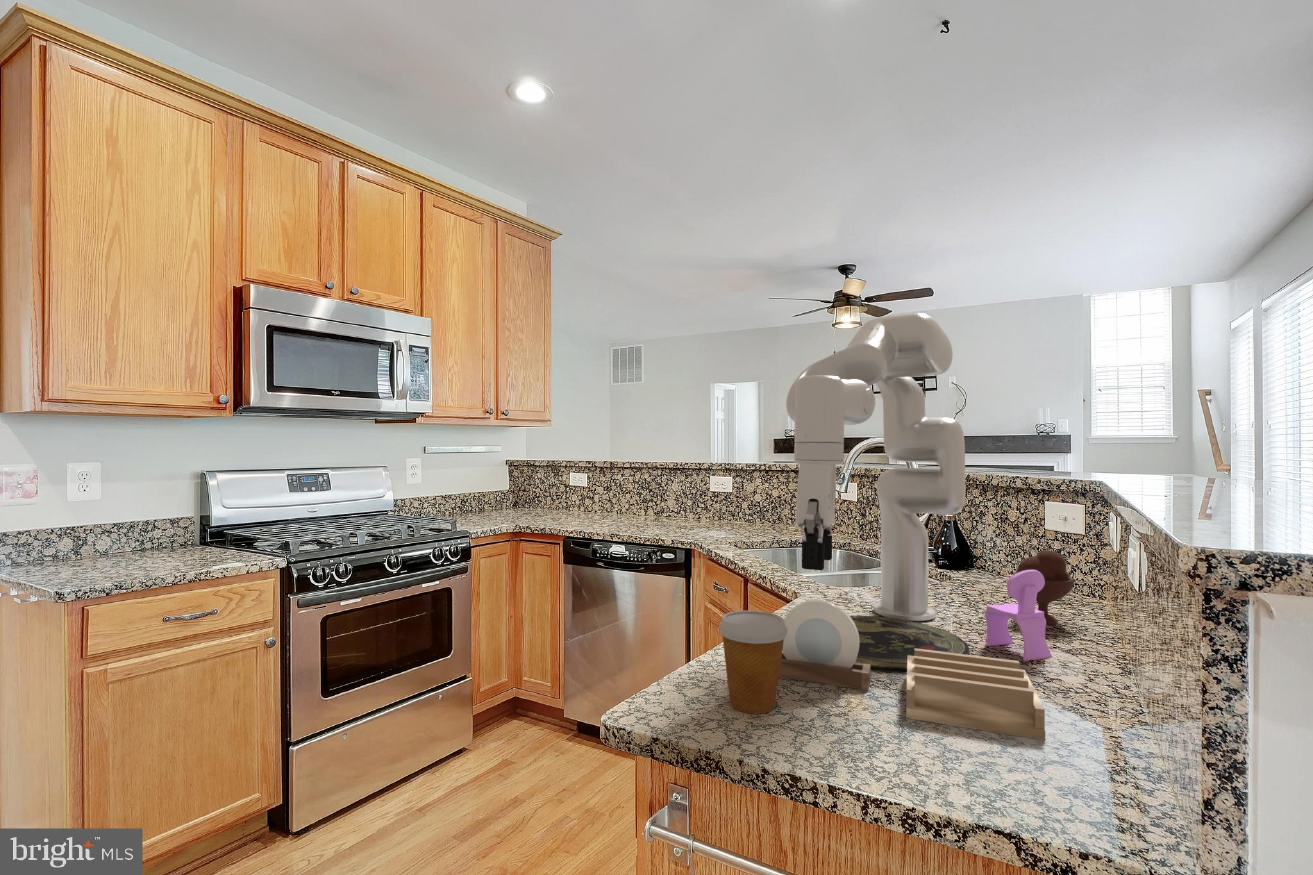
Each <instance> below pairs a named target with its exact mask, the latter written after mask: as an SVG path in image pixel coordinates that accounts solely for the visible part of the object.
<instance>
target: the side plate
mask: <svg viewBox="0 0 1313 875" xmlns="http://www.w3.org/2000/svg"><path fill="white" fill-rule="evenodd" d="M850 616H851V615H850V614H848V613H847V612H846V610H844V609H843V608H842V607H840V606H838V605H837V604H835V603H833V602H830V601H827V600H824V599H823V600H822V599H810V600H805V601H801V602H800V603H798V604H796V605H795V606H794V607H792V609H791V610H790V611H789V612H788V613H787V614H786V615H785V616H784V618H783V619H784V623H785V626H786V627H787V629H788V632H787V634H786V637H785V638H784V642H783V650H782V653H784V656H785V657H786V659H787V660H792V661H799V662H806V663H813V664H820V665H828V666H835V667H842V668H849V669H850V668H851V667H852V666H853V664H854V663H855V661H856V658H857V655H858V651H859V644H860V643H859V634H858V631H857V628H856V626H855V623H854V622H853V620H852V619H851V617H850Z"/></svg>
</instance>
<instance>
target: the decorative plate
mask: <svg viewBox="0 0 1313 875" xmlns="http://www.w3.org/2000/svg"><path fill="white" fill-rule="evenodd" d="M849 616H850V617H851V619H852V620H853V622H854V623H855V626H856V628H857V631H858V634H859V643H860V644H859V651H858V655H857V658H856V661H855V662H856V663H864V664H871V665H870V671H879V672H888V673H889V672H890V673H905V674H907V658H908V655H910V656H915V648H916V649H924V650H932V651H941V652H949V653H957V654H965V655H971V649H970V647H969V645H968V643H967V642H966V641H964V640H963V638H961V637H959V636H957V635H955V634H953V633H951V632H949V631H947V630H944V629H941V628H938V627H935V626H932V625H928V624H923V623H920V622H917V621H907V620H901V619H894V618H888V617H884V616H873V615H855V614H854V615H849Z"/></svg>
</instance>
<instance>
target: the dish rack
mask: <svg viewBox="0 0 1313 875" xmlns="http://www.w3.org/2000/svg"><path fill="white" fill-rule="evenodd" d="M1020 666H1021V665H1020V662H1019V660H1014V659H1013V660H1012V659H1005V658H995V657H989V656H980V655H972V654H970V655H965V654H957V653H949V652H941V651H932V650H924V649H916V648H915V656H910V655H908V658H907V673H906V712H905V713H906V719H912V720H918V721H921V722H922V721H923V722H930V723H937V724H942V725H948V726H954V727H960V728H966V729H973V730H979V731H984V732H991V733H996V734H997V733H998V734H1003V735H1010V736H1016V737H1021V738H1027V739H1034V740H1039V741H1046V730H1045V729H1046V728H1045V725H1046V724H1045V720H1046V717H1045V714H1046V713H1045V712H1046V711H1045V708H1044V706H1043V704H1042V702H1041V700H1040V697H1039V695H1038V693H1037V692H1036V689H1035V688H1034V685H1033V684H1032V682H1031V681H1032V680H1030V678H1029V676H1028V673H1027V672H1026V670H1025V669H1022V668H1021V669H1020Z"/></svg>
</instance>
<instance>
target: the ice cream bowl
mask: <svg viewBox="0 0 1313 875" xmlns="http://www.w3.org/2000/svg"><path fill="white" fill-rule="evenodd" d="M1025 570H1037V571H1039V572H1040V573H1041V574H1042V575H1043V577H1044V579H1045V584H1044V587H1043V588H1042V590H1040V591H1039V592H1038V593H1037V598H1036V603H1037V610H1039V611H1042V612H1044V618H1045V619H1046V626H1056V625H1058V624H1059V620H1058V619H1057V618H1055V617H1054V616H1052V615H1051V614H1049V610H1048V609H1049V605H1050V603H1053V602H1056V601H1058V600H1060V599H1062V598H1064V597H1066V596H1067V595H1068V594H1070V593H1071V591H1072V590H1073V588H1074V585H1075V581H1076V579H1075V578H1073V577H1071V576H1070V574H1069V572H1068V571H1067V561H1066V559H1065V557H1063V556H1062V554H1060V553H1059V552H1058V551H1055V550H1047V549H1046V550H1040V551H1039V552H1038V553H1037V554H1036V555H1035V556H1029V557H1026V558H1024V559H1022V560H1021V561H1020V562H1019V564H1018V565H1017V570H1016V571H1015V572H1012V576H1013V575H1015V574H1017V573H1019V572H1021V571H1025Z"/></svg>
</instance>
